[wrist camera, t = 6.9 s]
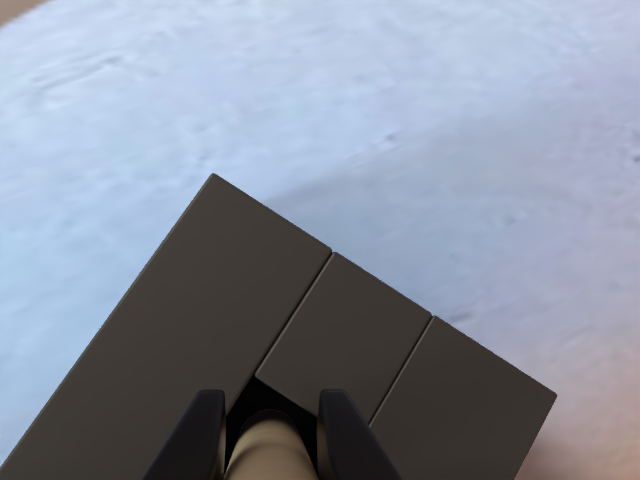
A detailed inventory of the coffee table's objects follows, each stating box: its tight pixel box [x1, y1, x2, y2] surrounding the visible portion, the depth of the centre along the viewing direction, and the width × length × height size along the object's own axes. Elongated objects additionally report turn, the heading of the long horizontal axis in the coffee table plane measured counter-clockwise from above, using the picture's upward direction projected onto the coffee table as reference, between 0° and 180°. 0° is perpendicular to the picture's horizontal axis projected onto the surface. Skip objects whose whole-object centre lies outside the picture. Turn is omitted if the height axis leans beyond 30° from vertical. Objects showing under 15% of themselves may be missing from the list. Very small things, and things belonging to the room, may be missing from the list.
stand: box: [0, 174, 557, 480], centre depth 14 cm, size 9×9×4 cm
